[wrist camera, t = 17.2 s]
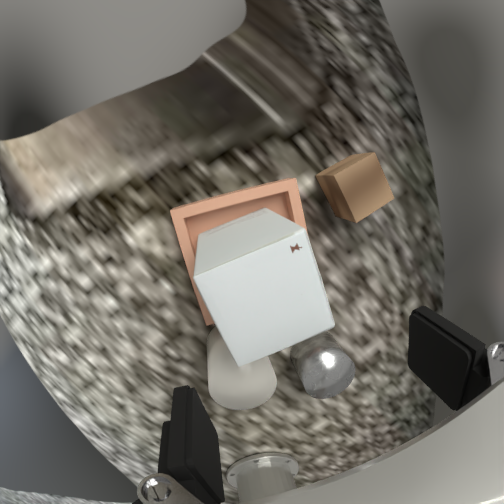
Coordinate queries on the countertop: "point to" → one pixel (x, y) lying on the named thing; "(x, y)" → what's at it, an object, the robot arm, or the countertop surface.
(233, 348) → the supplement box
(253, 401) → the white rounded lump
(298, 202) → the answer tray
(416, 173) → the countertop surface
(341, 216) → the walnut block
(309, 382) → the grey tin
